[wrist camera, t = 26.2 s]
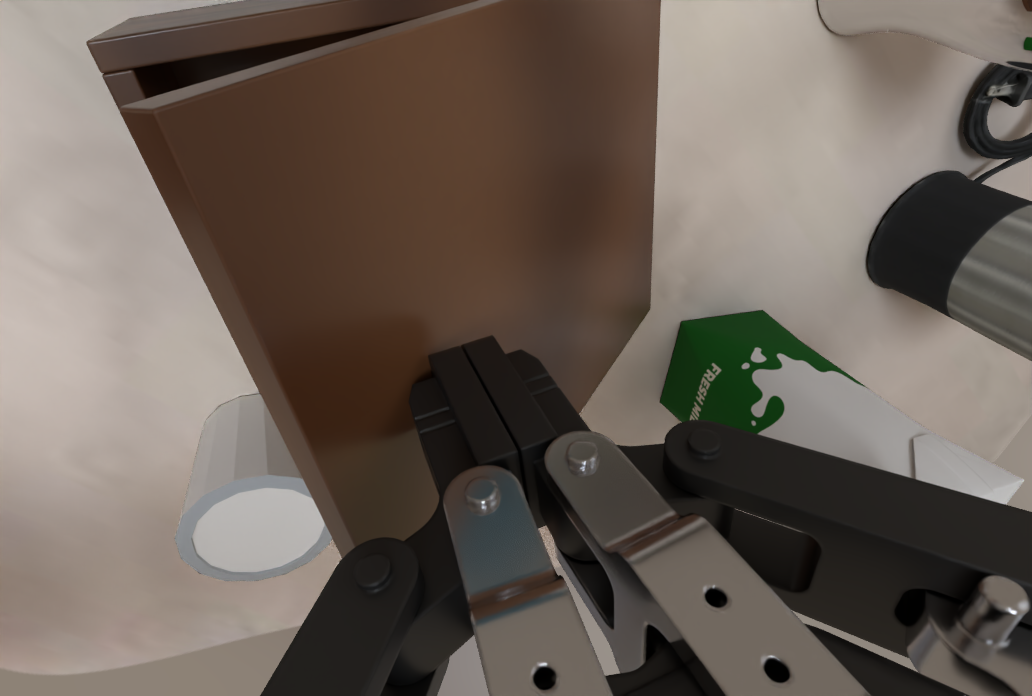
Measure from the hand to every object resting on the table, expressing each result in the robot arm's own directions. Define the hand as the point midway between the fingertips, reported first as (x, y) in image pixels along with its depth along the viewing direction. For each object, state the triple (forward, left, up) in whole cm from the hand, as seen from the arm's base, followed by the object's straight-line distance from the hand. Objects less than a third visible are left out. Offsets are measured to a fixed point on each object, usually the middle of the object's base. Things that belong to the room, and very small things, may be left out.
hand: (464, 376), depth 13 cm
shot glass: (-9, -13, -17) cm, 23 cm away
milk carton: (+21, -19, -17) cm, 33 cm away
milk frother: (+40, -10, -17) cm, 45 cm away
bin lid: (+3, 0, -4) cm, 5 cm away
